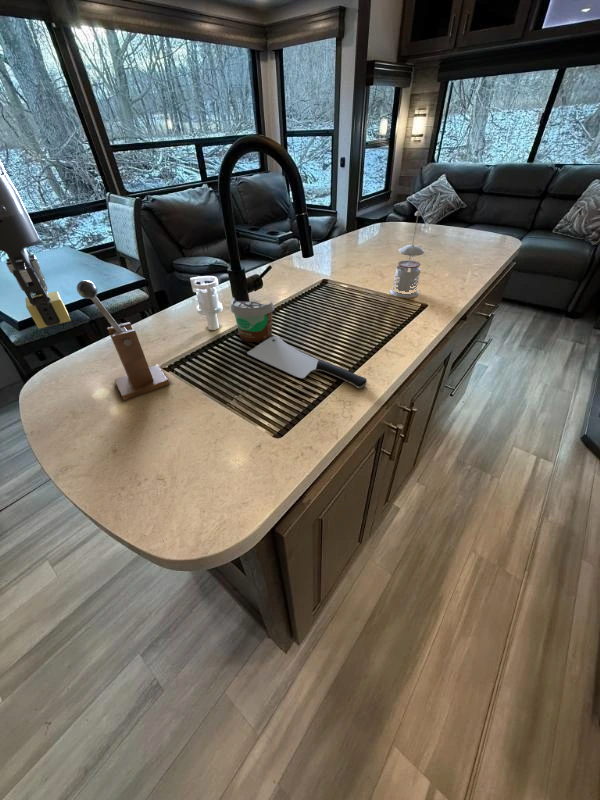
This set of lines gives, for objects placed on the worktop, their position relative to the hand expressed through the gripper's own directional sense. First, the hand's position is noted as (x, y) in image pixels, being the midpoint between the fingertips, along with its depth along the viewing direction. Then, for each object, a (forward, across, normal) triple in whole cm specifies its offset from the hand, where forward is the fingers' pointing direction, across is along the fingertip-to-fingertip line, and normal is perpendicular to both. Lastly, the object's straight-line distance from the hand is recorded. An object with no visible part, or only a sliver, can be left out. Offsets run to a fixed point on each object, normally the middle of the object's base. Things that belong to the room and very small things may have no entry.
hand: (52, 318), depth 60 cm
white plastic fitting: (+19, -16, +35) cm, 43 cm away
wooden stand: (+19, 0, +10) cm, 22 cm away
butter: (0, 0, 0) cm, 0 cm away
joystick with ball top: (+2, 0, +7) cm, 7 cm away
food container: (+19, -4, +40) cm, 45 cm away
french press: (+20, -1, +100) cm, 102 cm away
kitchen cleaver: (+19, +17, +44) cm, 51 cm away
